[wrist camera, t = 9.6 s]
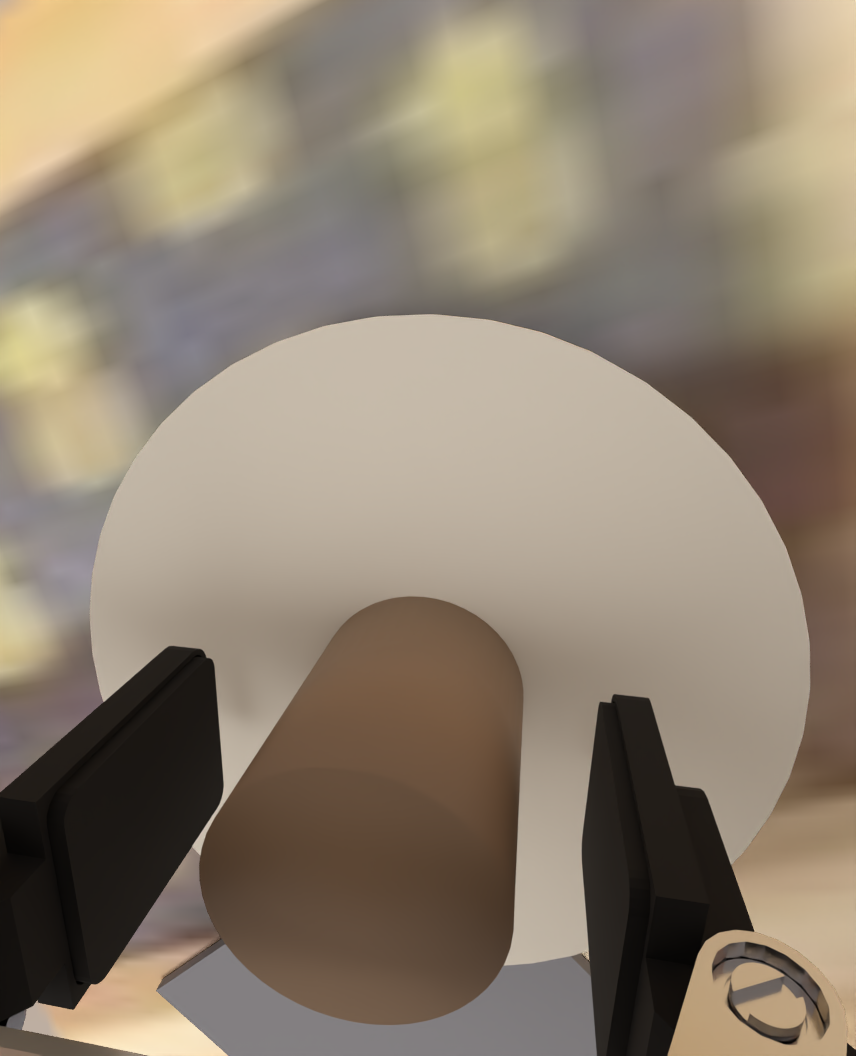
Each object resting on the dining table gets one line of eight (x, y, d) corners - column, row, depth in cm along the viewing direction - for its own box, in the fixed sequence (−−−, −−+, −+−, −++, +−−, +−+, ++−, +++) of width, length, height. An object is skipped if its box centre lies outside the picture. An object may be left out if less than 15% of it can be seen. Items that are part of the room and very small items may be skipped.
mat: (707, 1081, 24) (710, 1096, 23) (412, 1203, 29) (410, 1218, 28) (426, 799, 22) (424, 809, 22) (162, 979, 27) (156, 990, 26)
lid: (947, 721, 12) (1290, 1058, 7) (416, 1010, 17) (354, 1359, 11) (446, 128, 11) (343, -84, 5) (5, 619, 15) (-310, 796, 10)
